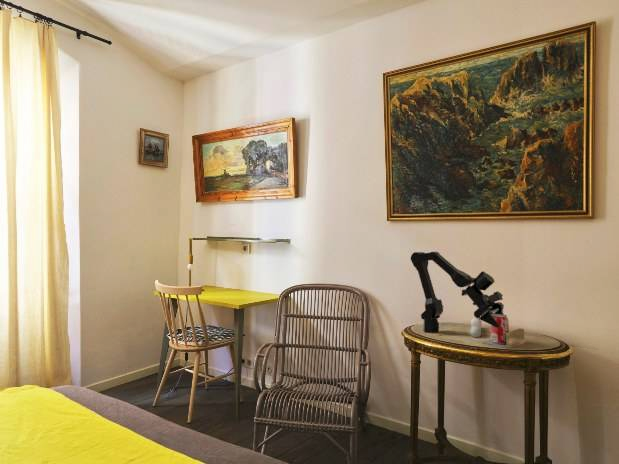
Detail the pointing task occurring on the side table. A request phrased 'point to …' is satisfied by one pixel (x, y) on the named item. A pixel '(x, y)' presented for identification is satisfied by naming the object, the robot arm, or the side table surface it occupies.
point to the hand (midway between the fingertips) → (502, 325)
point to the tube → (475, 327)
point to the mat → (494, 343)
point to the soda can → (500, 329)
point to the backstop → (514, 338)
